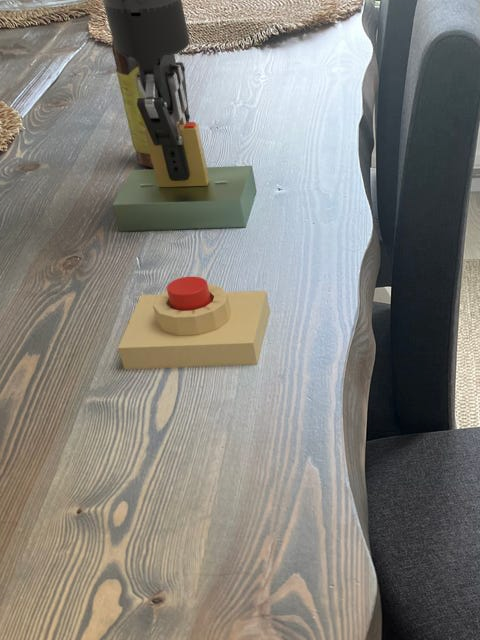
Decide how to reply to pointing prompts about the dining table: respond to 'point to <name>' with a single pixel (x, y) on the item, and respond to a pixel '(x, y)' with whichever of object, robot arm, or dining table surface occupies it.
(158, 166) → the handle
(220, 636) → the dining table surface
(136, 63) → the sauce bottle
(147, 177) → the plate
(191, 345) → the block
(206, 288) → the button
